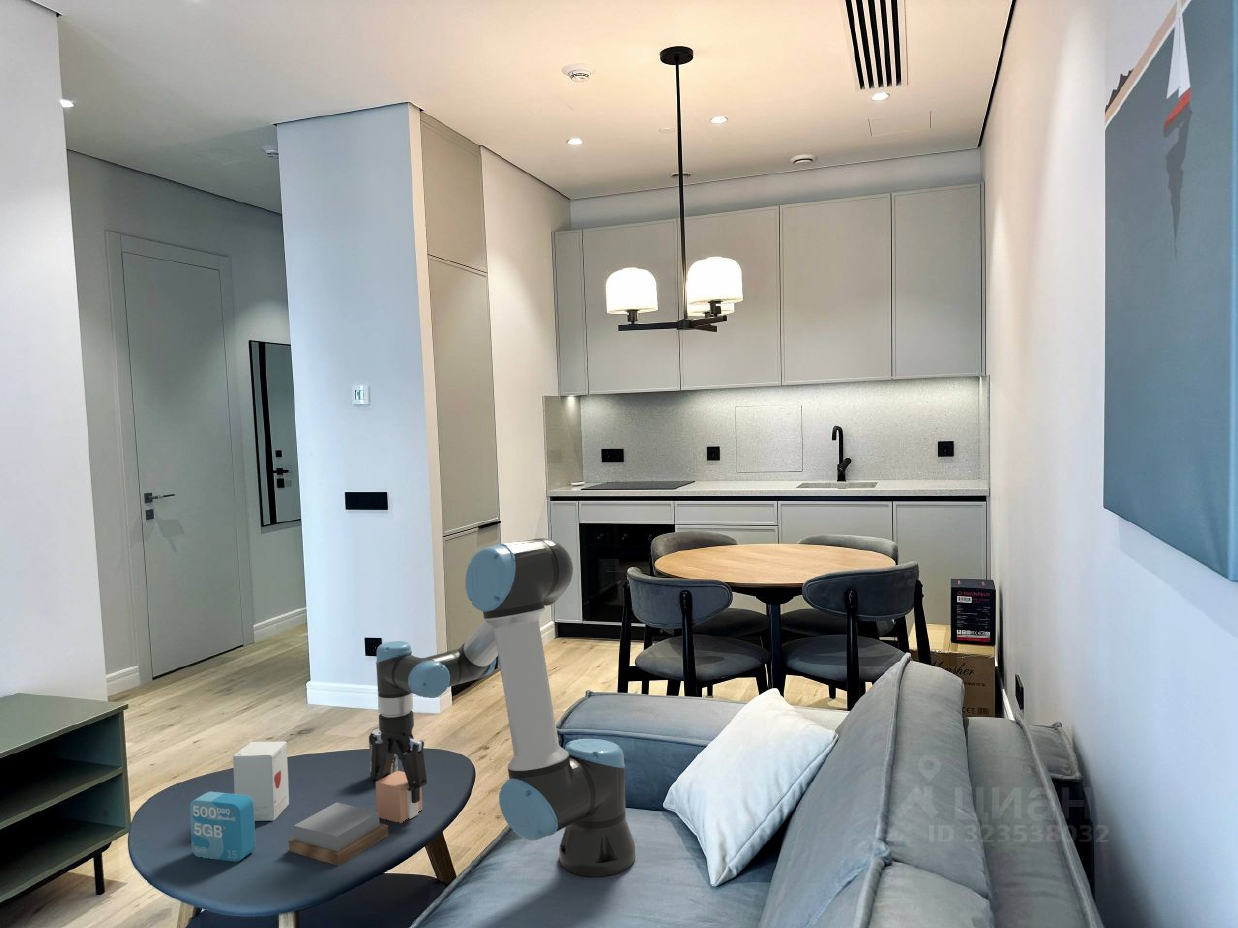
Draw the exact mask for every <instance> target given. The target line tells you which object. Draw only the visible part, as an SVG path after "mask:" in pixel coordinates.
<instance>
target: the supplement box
mask: <svg viewBox="0 0 1238 928" xmlns="http://www.w3.org/2000/svg"><path fill="white" fill-rule="evenodd" d="M232 759H233V762H232V763H233V785H234V786H233V788H234V790H233V791H234V793H233V794H239V795H248V796H250V797H251V798H252V800H253V803H254V822H259V821H261V822H264V821H265V822H266V821H271V822H274V821H275V820H276V819H277V818H278V817H279V816H280V815H281V813H282V812H283V811H284V810H285V809H286V808H287V807H288V806H289V805H290V796H289V795H290V794H289V791H290V790H289V789H290V788H289V767H288V743H287V741H251V742H249V743H248V744H246V745H245V746H244V747H242V748H240V750H239V751H238V752H236V753H235V754H234V755H233V756H232Z"/></svg>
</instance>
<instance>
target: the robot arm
mask: <svg viewBox="0 0 1238 928" xmlns="http://www.w3.org/2000/svg"><path fill="white" fill-rule="evenodd" d="M465 572H466V573H465V579H464V581H465V590H466V591H465V592H466V595H467V598H468V600H469V602H471V605H472V606H473V607H474V608H475V609H476V610H478V611H481V612H482V614H483V615H482V616H483V619H484V620H483V621H482V623H480V624H479V626H478V627H477V628H476V629H475V630H474V631H473V633H471V634H470V635H469V637H468V638H467V639H466V640H465V642H463V644H462V645H461V646H460V647H458V648H456V649H452V650H448V651H445V652H442V653H438V654H435V655H430V656H426V657H418V656H414V655H413V654H412V653H413V652H412V648H411V644H410V643H409V642H408V641H403V640H393V641H387V642H383V643H382V644H379V646H378V647H377V649H376V662H375V664H376V665H375V666H376V683H377V700H378V701H377V702H378V705H377V709H378V710H377V711H378V713H379V714H378V727H379V730H380V731H381V732H379V733H377V734H375V735H372V736H371V742H372V763H371V776H370V778H371V777H372V778H376V779H377V781H378V780H380V779H382V778H384V777H386V776H388V775H389V773H390V769H391V765H392V762H393V758H394V754H396V755H397V759H398V760H399V761H401V765H402V767H403V770H404V771H403V772H405V775H406V778H407V781H408V784H409V788H408V789H407V812H408V818H409V819H408V820H411V819H413V818H414V817H416V816H418V815H419V813H420V812H419V813H418V802H419V801H420V787H424V786H425V785H427V784H428V779H427V771H426V764H425V763H426V761H425V757H424V756H425V755H424V748H425V747H424V746H425V741H424V740H422V739H421V740H419V741H418V740H417V739H414V738H415V737H414V735H413V728H414V726H415V723H414V722H415V721H414V720H415V719H414V711H413V709H414V701H413V695H415V696H417V697H420V698H421V697H423V698H429V699H436V698H438V697H441V695H442V694H443V693H445V692H446V691H447V689H448V688H450V687H453V686H456V685H461V684H464V683H467V682H471V681H474V680H480V679H482V678H484V677H486V676H488V675H490V674H491V673H493V672H494V671H495V667H496V664H497V658H498V664H499V670H500V675H501V683H502V689H503V694H504V702H505V709H506V713H507V714H506V715H507V720H508V721H507V722H508V725H509V733H510V738H511V744H512V746H511V747H512V751H513V755H512V757H511V758H510V760H509V762H508V763H507V772H508V779H507V780H506V781H505V782H504V783H503V784H502V786H501V787H500V790H499V794H498V801H499V807H500V811H501V814H502V816H503V818H504V820H505V821H506V823H507V825H508V826H509V827H510V828H511V829H512V831H513V832H514V833H515V835H517V836H519V837H520V838H522V839H524V840H527V841H531V842H532V841H539V840H541V839H543V838H546V837H550V836H553V835H555V834H556V833H557V832H559V831H561V830H564V831H563V834H562V838H561V841H560V843H559V844H560V845H559V849H558V850H559V851H558V852H559V853H558V855H559V863H560V865H561V867H563V868H564V869H565V870H566V871H568V872H570V873H572V874H575V875H577V876H582V877H590V878H591V877H594V878H596V877H605V876H606V877H607V876H611V875H615V874H618V873H621V872H623V871H625V870H627V869H629V868H630V867H631V866H632V865H633V864H634V862H635V860H636V844H635V841H634V839H633V836H632V832H631V830H630V826H629V824H628V821H627V817H626V815H627V814H626V772H625V771H626V769H625V768H626V764H625V760H624V759H625V757H624V752H623V751H624V750H623V749H622V747H621V746H620V745H618V744H616V743H615V742H612V741H610V740H604V739H598V738H579V739H574V740H570V741H569V742H567V743H566V744H565V746H564V748H565V749H564V748H563V747H561V746H560V744H559V743H560V742H559V736H558V730H557V724H556V718H555V713H554V712H555V711H554V705H553V700H552V693H551V688H550V682H549V676H548V669H547V665H546V658H545V652H544V644H543V639H542V633H541V627H540V617H541V615H542V614H543V612H544V611H545V610H546V608H545V607H549V606H552V605H554V604H555V603H556V602H557V601H558V600H559V599H560V598H561V596H562V595H563V594H564V593H565V592H566V591H567V589H568V588H569V585H570V584H571V583H572V578H573V574H574V573H573V572H574V565H573V562H572V558H571V556H570V554H569V552H568V551H567V549H565V547H564V546H562V545H561V544H560V542H559V543H558V542H557V541H555V540H552V539H550V538H533V539H530V540H528V539H527V540H523V541H515V542H514V541H513V542H507V543H497V544H496V545H495V544H494V545H491V546H488V547H484V548H482V549H480V550H478V551H477V552H476V553H475V554H474V555H473V557H472V558H471V561H470V562H469V563H468V566H467V568H466V571H465ZM372 778H371V779H372ZM377 781H376V782H377ZM414 781H415V782H414Z"/></svg>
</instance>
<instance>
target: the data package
mask: <svg viewBox="0 0 1238 928" xmlns="http://www.w3.org/2000/svg"><path fill="white" fill-rule="evenodd" d="M189 815H190V816H189V817H190V818H189V819H190V839H191V851H192V854H193V855H194V856H195V857H197V858H200V857H203V858H202V859H208V858H209V859H210V860H218V861H223V862H232V863H233V862H234V863H238V862H240V861H241V860H243V859H244V858H246V857H247V856H249V854H251V853H252V852H254V850H255V849H256V828H255V827H256V826H255V825H256V824H255V823H256V822H255V821H254V803H253V800H252V798H251V797H250V796H248V795H239V794H234V793H228V792H219V791H207V792H206V793H204V794H202V795H200V796H199V797H197V798H195V799H194V800H193V799H192V801H191V802H190V804H189ZM209 859H208V860H209Z"/></svg>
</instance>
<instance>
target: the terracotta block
mask: <svg viewBox="0 0 1238 928" xmlns="http://www.w3.org/2000/svg"><path fill="white" fill-rule="evenodd" d="M414 782H415V781H414ZM422 787H423V786H422ZM422 787H420V801H419V802H418V812H419V811H421V810H423V792H422V791H423V789H422ZM408 788H409V784H408V781H407V778H406V775H405V771H401V770H398V771H396V772H394V773H392V774H390V775H388V776H386V777H384V778H382V779H380V780H378V781H375V796H376V797H375V798H376V799H375V800H376V812H379V819H383V820H386V819H387V821H390V822H394V823H398V822H399V823H398V824H402V823H404V822H406V821H407V820H409V819H408V812H407V789H408ZM421 812H422V811H421ZM419 813H420V812H419ZM406 819H407V820H406ZM405 820H406V821H405ZM403 821H404V822H403Z"/></svg>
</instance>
